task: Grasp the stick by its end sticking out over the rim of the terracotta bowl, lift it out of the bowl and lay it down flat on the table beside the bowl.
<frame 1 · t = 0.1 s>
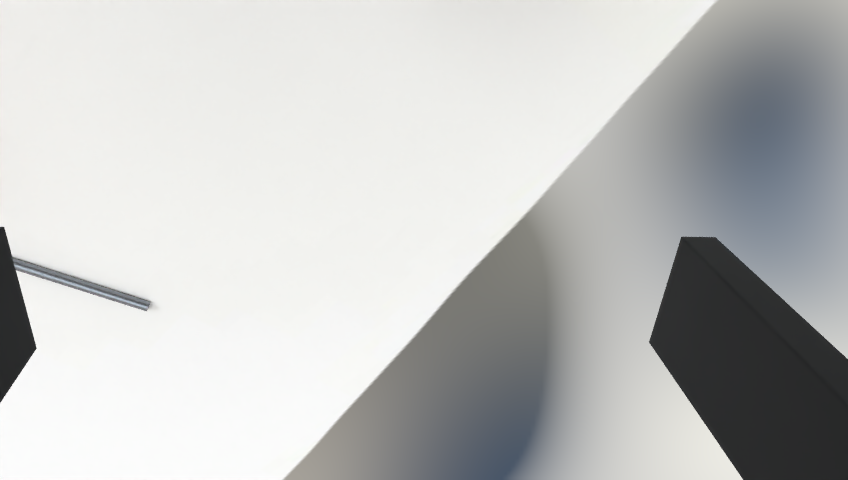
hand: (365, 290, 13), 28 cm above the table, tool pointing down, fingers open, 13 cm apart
rod: (5, 255, 42), on the table
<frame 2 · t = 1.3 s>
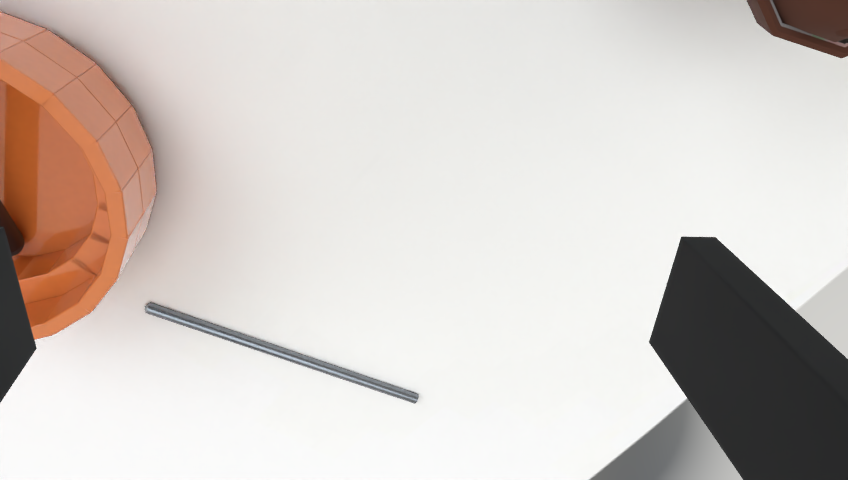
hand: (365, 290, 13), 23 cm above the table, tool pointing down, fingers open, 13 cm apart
rod: (290, 350, 42), on the table
bowl: (2, 158, 33), on the table
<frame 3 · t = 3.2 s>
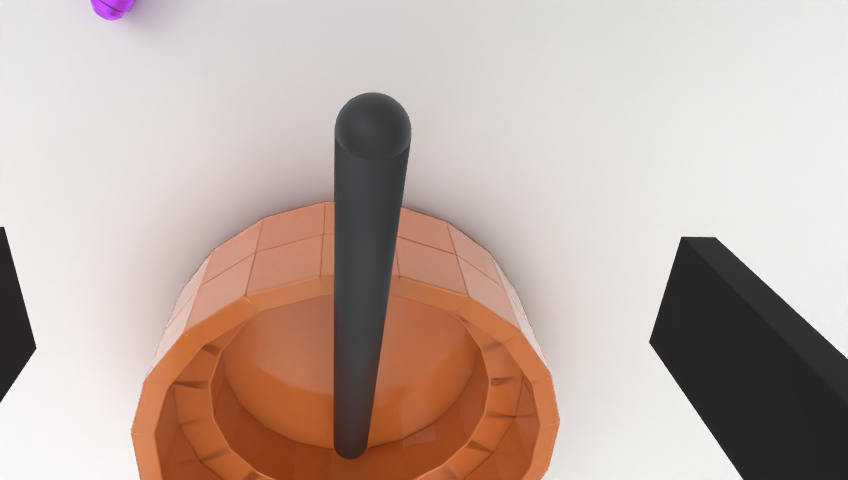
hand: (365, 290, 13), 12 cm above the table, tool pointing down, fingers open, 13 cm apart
bowl: (352, 350, 29), on the table
stick: (357, 346, 21), point 6 cm above the table, touching bowl
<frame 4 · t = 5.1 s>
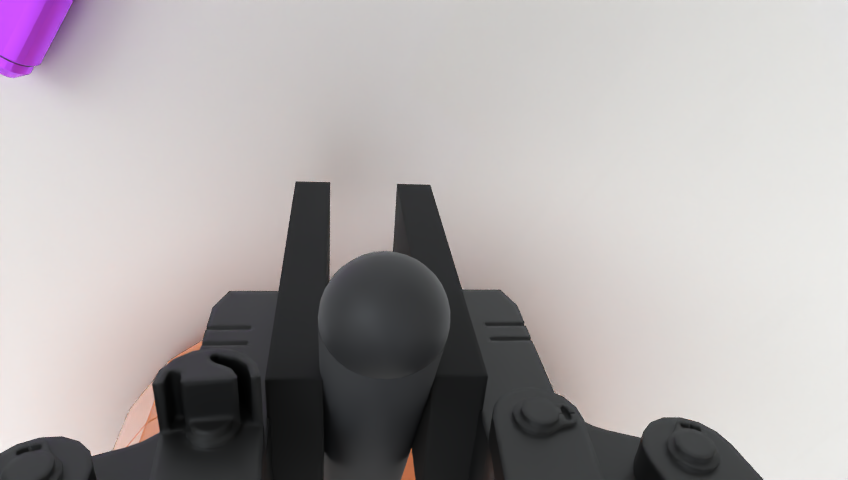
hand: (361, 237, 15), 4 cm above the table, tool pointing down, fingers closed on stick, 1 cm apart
bowl: (349, 465, 23), on the table
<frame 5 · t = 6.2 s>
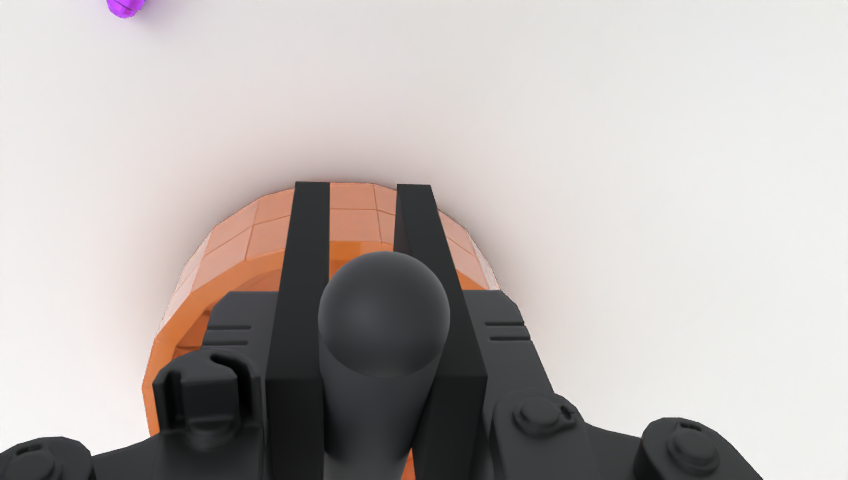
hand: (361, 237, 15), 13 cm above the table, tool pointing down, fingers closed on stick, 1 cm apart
bowl: (341, 322, 31), on the table
when the fingers open (3 cm above the table, at t = 11.3 s): stick drops 4 cm and tips over, point 1 cm above the table.
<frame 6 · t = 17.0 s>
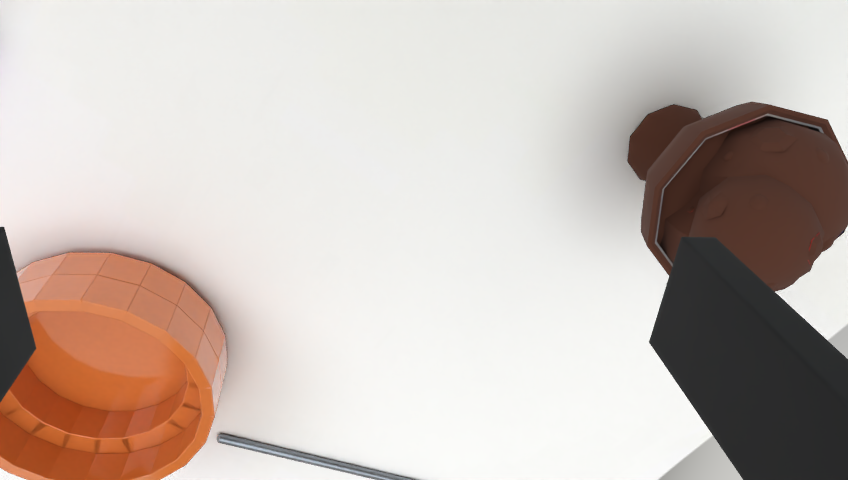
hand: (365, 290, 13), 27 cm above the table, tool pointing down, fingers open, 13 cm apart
rod: (331, 459, 52), on the table
ice cream bowl: (666, 144, 42), on the table
bowl: (112, 344, 44), on the table
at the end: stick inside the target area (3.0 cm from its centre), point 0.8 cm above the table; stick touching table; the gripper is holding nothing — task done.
